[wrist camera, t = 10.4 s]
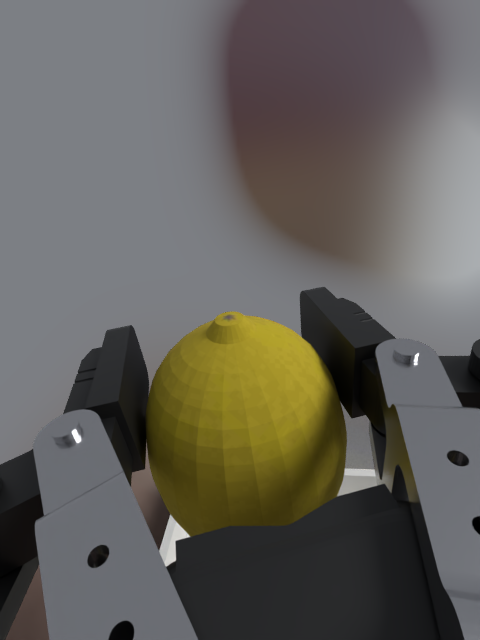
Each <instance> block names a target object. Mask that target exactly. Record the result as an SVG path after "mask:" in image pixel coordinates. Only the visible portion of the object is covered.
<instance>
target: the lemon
mask: <svg viewBox="0 0 480 640" xmlns="http://www.w3.org/2000/svg"><path fill="white" fill-rule="evenodd" d="M146 439H147V449H148V458H149V464H150V469H151V473H152V476H153V480H154V482H155V484H156V487H157V489H158V491H159V493H160V495H161V497H162V499H163V501H164V503H165V505H166V507H167V509H168V511H169V513H170V514H171V516H172V517H173V518H174V520H175V521H176V522H177V523H178V524H179V525H180V526H181V527H182V528H183V529H184V530H185V531H186V532H187V534H188V535H189V536H190V537H191V536H195V535H199V534H202V533H206V532H210V531H213V530H217V529H220V528H224V527H228V526H284V525H289V524H292V523H294V522H295V521H297V520H299V519H300V518H302V517H304V516H305V515H307V514H308V513H310V512H312V511H313V510H315V509H317V508H318V507H320V506H322V505H323V504H325V503H327V502H328V501H330V500H332V499H333V498H335V497H337V495H338V493H339V490H340V487H341V485H342V482H343V477H344V472H345V460H346V446H347V435H346V426H345V420H344V415H343V411H342V407H341V403H340V400H339V396H338V392H337V389H336V386H335V383H334V380H333V378H332V375H331V373H330V372H329V370H328V368H327V366H326V364H325V363H324V361H323V360H322V359H321V357H320V356H319V354H318V353H317V352H316V350H315V349H314V348H313V347H312V346H311V344H309V343H308V342H307V341H306V340H304V339H303V338H302V337H300V336H299V335H298V334H297V333H295V332H294V331H293V330H291V329H289V328H287V327H285V326H283V325H281V324H279V323H276V322H274V321H271V320H267V319H264V318H259V317H255V316H244V315H242V314H241V313H239V312H225V313H222V314H220V315H218V316H217V317H216V318H215V319H214V320H213V321H210V322H208V323H206V324H204V325H201V326H199V327H198V328H196V329H195V330H194V331H192V332H190V333H189V334H187V335H186V336H185V337H183V338H182V339H181V340H180V341H179V342H178V343H177V344H176V345H175V346H174V347H173V348H172V349H171V350H170V351H169V353H168V354H167V356H166V357H165V358H164V360H163V362H162V363H161V365H160V367H159V368H158V370H157V371H156V374H155V376H154V379H153V381H152V385H151V389H150V393H149V397H148V402H147V407H146Z"/></svg>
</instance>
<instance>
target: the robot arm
mask: <svg viewBox="0 0 480 640" xmlns="http://www.w3.org/2000/svg"><path fill="white" fill-rule="evenodd" d="M300 314H301V334H302V338H303V339H304V340H306V341H307V342H308V343H309V344H311V346H312V347H313V348H314V349H315V350H316V352H317V353H318V354H319V356H320V357H321V359H322V360H323V361H324V363H325V364H326V366H327V368H328V370H329V372H330V373H331V375H332V378H333V380H334V383H335V386H336V389H337V392H338V396H339V400H340V402H341V403H342V405H343V406H344V408H345V409H346V411H347V412H348V414H349V415H350V417H351V418H355V417H359V416H363V415H366V416H367V417H368V419H369V420H370V422H369V436H370V442H371V449H372V456H373V462H374V469H375V475H376V482H377V486H374V487H370V488H366V489H363V490H359V491H355V492H352V493H348V494H344V495H341V496H337V497H335V498H333V499H332V500H330V501H328V502H327V503H325V504H323V505H322V506H320V507H318V508H317V509H315V510H313V511H312V512H310V513H308V514H307V515H305V516H304V517H302V518H300V519H299V520H297V521H295V522H294V523H292V524H289V525H284V526H228V527H224V528H220V529H217V530H213V531H210V532H206V533H202V534H199V535H195V536H191V537H188V538H184V539H180V540H177V541H175V544H176V561H174V562H173V563H171V564H169V565H168V566H165V564H164V562H163V559H162V557H161V555H160V552H159V550H158V548H157V546H156V543H155V541H154V539H153V537H152V534H151V532H150V530H149V528H148V525H147V523H146V521H145V519H144V516H143V514H142V512H141V510H140V507H139V505H138V503H137V501H136V498H135V496H134V494H133V492H132V489H131V477H132V472H135V471H139V470H143V469H145V459H146V407H147V402H148V396H149V378H148V372H147V368H146V364H145V361H144V358H143V355H142V352H141V349H140V345H139V342H138V339H137V336H136V333H135V330H134V328H133V326H132V325H130V326H125V327H120V328H115V329H111V330H107V331H106V334H105V338H104V342H103V345H102V347H101V348H96V349H92V350H91V351H90V352H89V353H88V354H87V355H86V357H85V358H84V359H83V360H82V361H81V364H80V367H79V370H78V374H77V376H76V379H75V384H73V387H72V390H71V393H70V396H69V399H68V402H67V405H66V408H65V410H64V413H63V415H61V416H59V417H57V418H55V419H54V420H52V421H51V422H50V423H48V424H47V425H46V426H45V427H44V428H43V429H42V430H41V431H40V432H39V433H38V435H37V437H36V438H35V440H34V444H33V449H32V450H31V451H29V452H27V453H25V454H23V455H20V456H18V457H16V458H14V459H12V460H9V461H7V462H5V463H3V464H1V465H0V640H5V638H6V636H7V634H8V632H9V630H10V627H11V625H12V623H13V621H14V619H15V616H16V614H17V612H18V610H19V607H20V605H21V603H22V601H23V599H24V596H25V594H26V592H27V590H28V588H29V585H30V583H31V581H32V579H33V576H34V574H35V572H36V570H37V568H38V565H39V566H40V573H41V580H42V588H43V595H44V603H45V610H46V618H47V625H48V632H49V640H480V339H479V340H477V341H476V342H475V343H474V344H473V346H472V350H471V354H470V356H438V355H437V353H436V352H435V351H434V350H433V349H432V348H431V347H429V346H427V345H426V344H424V343H421V342H418V341H415V340H410V339H396V338H395V337H394V336H393V335H392V334H390V333H389V332H388V331H387V330H386V329H385V328H383V327H382V326H381V325H380V324H379V323H378V322H377V321H375V320H374V319H372V317H371V316H370V315H369V314H367V313H365V311H364V310H363V309H362V308H361V307H360V306H358V305H357V304H356V303H354V302H351V301H349V300H346V299H344V298H340V299H337V298H336V297H335V296H334V295H333V294H332V293H331V292H329V291H328V290H327V289H326V288H325V287H321V288H315V289H311V290H305V291H302V292H301V294H300Z"/></svg>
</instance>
